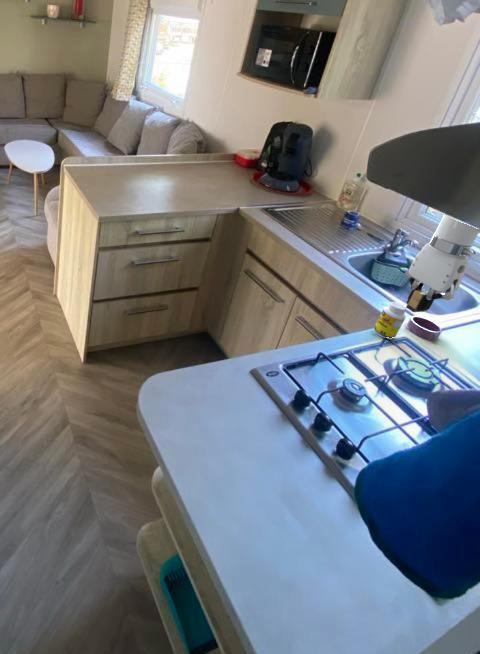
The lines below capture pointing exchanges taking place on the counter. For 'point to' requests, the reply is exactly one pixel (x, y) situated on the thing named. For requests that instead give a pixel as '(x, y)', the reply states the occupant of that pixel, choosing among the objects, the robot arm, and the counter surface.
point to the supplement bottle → (390, 320)
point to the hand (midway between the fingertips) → (416, 306)
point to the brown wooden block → (416, 300)
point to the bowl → (424, 328)
